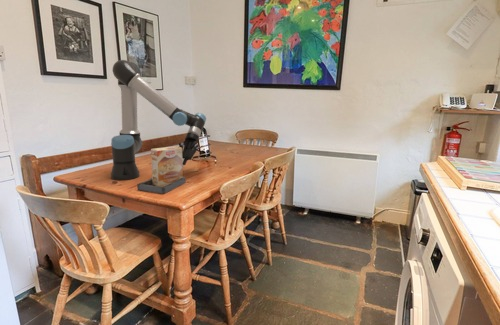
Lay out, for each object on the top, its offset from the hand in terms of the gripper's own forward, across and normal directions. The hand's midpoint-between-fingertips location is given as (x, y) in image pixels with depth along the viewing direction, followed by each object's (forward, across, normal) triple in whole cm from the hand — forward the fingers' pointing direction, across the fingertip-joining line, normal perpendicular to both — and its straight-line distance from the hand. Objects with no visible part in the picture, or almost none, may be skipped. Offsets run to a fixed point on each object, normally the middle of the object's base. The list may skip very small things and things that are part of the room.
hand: (179, 169), depth 160 cm
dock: (+14, +2, +6) cm, 15 cm away
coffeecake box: (+10, +2, +2) cm, 11 cm away
